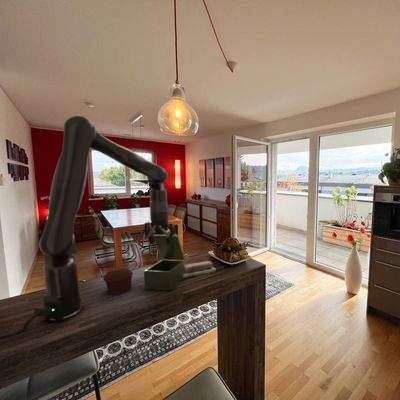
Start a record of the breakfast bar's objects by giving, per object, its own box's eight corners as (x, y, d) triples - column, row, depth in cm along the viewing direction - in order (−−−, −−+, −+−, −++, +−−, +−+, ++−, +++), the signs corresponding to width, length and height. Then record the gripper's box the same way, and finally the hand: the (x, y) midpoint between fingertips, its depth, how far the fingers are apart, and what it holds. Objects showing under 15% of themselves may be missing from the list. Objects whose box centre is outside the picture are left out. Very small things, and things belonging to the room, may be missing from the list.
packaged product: (182, 269, 116) (178, 263, 124) (182, 278, 116) (178, 272, 124) (216, 263, 126) (209, 258, 134) (216, 271, 126) (209, 266, 135)
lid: (177, 236, 111) (181, 230, 115) (153, 235, 112) (158, 230, 116) (184, 260, 118) (187, 254, 122) (161, 259, 119) (165, 253, 123)
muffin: (138, 283, 112) (137, 263, 111) (126, 294, 101) (124, 273, 100) (113, 284, 111) (111, 264, 110) (98, 296, 100) (96, 274, 99)
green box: (170, 290, 105) (169, 272, 104) (145, 288, 106) (143, 270, 105) (185, 276, 119) (184, 260, 118) (162, 275, 121) (162, 259, 120)
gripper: (139, 211, 103) (141, 246, 105) (169, 211, 102) (170, 247, 103) (149, 209, 111) (151, 241, 112) (177, 209, 109) (178, 242, 111)
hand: (160, 244), depth 108 cm, fingers open, 8 cm apart
